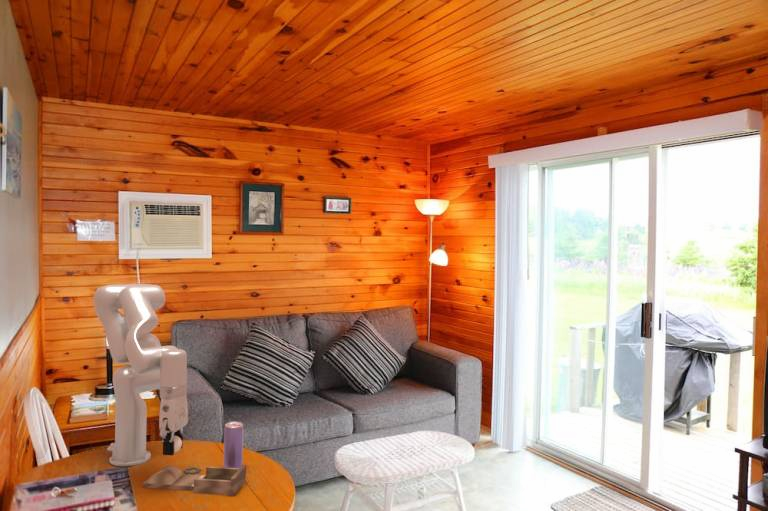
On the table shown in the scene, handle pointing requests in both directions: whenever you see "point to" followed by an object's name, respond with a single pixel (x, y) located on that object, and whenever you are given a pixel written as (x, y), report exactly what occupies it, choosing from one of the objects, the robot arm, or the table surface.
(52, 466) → the table surface
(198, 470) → the grey piece
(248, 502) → the table surface
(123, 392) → the robot arm
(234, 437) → the beverage can
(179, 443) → the ball
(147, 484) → the lane
